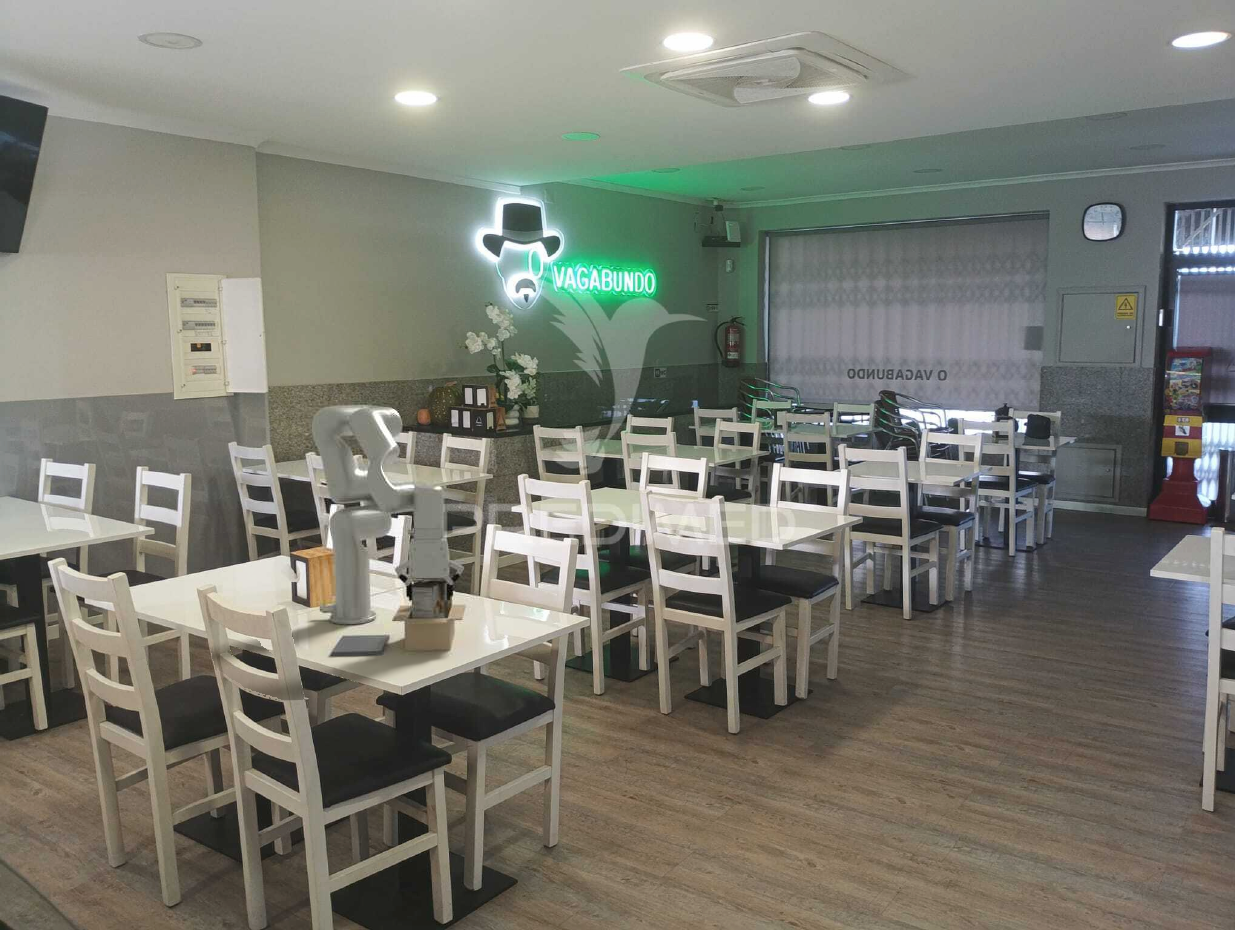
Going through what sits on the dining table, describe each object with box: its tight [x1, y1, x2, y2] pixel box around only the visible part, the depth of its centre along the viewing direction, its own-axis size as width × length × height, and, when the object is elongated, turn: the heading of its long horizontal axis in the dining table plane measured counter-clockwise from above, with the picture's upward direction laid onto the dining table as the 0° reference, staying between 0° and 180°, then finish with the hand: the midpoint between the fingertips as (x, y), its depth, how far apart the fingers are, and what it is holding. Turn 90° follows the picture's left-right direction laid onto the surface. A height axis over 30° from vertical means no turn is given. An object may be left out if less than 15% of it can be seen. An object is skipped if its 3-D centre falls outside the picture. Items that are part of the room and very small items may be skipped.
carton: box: [392, 579, 467, 652], centre depth 241 cm, size 17×17×15 cm
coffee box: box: [411, 578, 448, 619], centre depth 243 cm, size 9×6×16 cm
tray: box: [331, 634, 391, 657], centre depth 239 cm, size 12×14×1 cm
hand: (430, 599), depth 242 cm, fingers open, 9 cm apart
